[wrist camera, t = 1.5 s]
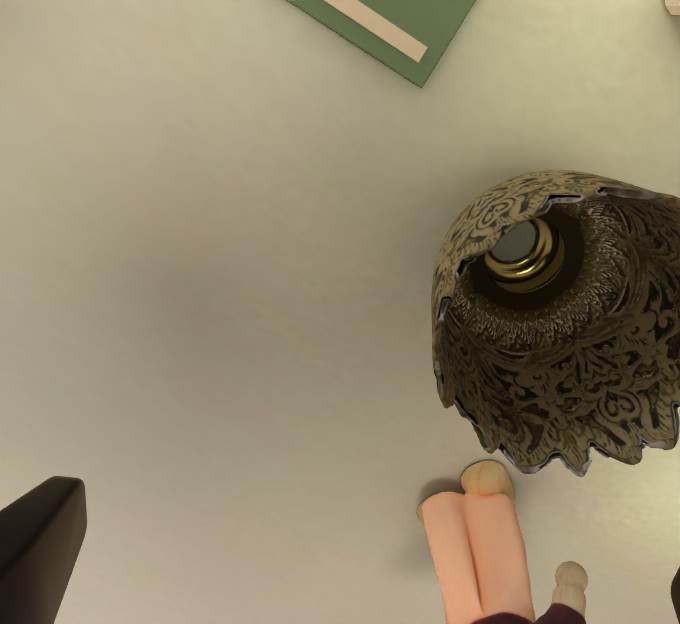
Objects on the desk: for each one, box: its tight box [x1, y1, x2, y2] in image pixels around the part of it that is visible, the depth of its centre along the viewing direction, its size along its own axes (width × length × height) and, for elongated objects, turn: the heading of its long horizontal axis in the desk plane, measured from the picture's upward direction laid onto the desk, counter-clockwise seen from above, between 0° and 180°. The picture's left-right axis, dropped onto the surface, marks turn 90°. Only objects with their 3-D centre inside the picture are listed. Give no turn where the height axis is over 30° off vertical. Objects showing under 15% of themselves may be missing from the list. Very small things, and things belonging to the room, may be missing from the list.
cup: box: [432, 171, 680, 477], centre depth 18 cm, size 8×7×8 cm
